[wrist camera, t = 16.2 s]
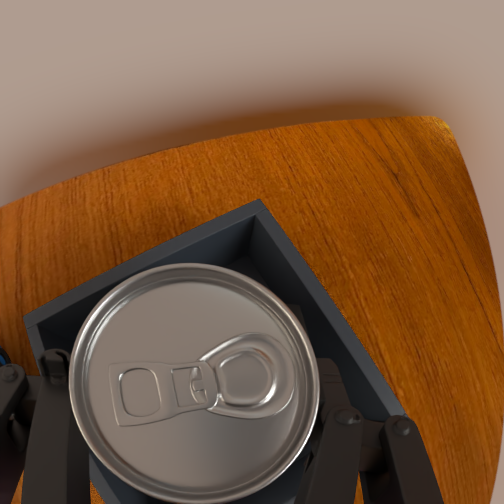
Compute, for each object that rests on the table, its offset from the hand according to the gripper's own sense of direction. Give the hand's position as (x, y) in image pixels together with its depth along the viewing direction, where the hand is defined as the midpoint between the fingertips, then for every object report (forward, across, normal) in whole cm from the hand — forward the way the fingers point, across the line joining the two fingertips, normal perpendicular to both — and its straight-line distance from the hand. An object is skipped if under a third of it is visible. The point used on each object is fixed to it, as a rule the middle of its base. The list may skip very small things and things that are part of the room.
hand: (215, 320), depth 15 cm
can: (0, 0, -5) cm, 5 cm away
